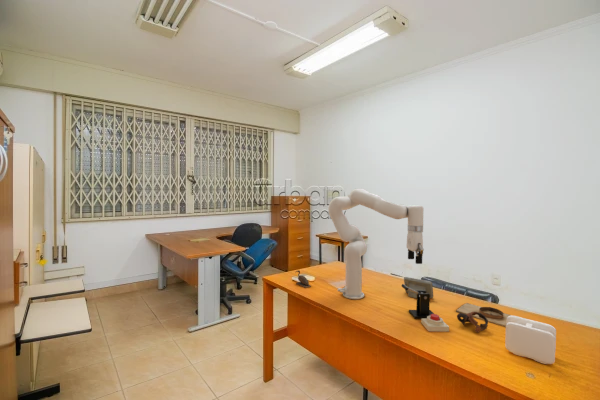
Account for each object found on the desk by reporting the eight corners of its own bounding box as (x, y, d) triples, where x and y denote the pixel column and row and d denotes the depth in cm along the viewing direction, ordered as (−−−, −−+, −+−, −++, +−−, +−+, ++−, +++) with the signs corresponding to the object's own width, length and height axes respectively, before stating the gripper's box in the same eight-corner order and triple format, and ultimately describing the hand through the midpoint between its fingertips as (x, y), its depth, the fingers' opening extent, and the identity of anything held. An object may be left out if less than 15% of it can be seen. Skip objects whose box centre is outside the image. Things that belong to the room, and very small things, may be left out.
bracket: (414, 319, 136) (415, 294, 136) (408, 311, 144) (409, 289, 144) (437, 319, 136) (438, 295, 135) (430, 312, 144) (430, 289, 143)
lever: (404, 290, 137) (406, 285, 137) (400, 286, 142) (402, 282, 142) (426, 300, 137) (428, 296, 137) (422, 297, 142) (424, 292, 142)
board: (523, 319, 135) (523, 313, 135) (515, 330, 125) (516, 322, 125) (466, 304, 154) (466, 298, 154) (455, 311, 144) (455, 305, 144)
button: (432, 321, 126) (432, 317, 126) (429, 317, 129) (429, 313, 129) (440, 321, 126) (440, 317, 126) (437, 317, 129) (437, 313, 129)
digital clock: (435, 298, 162) (435, 280, 162) (427, 302, 156) (427, 283, 156) (408, 291, 174) (409, 274, 174) (400, 294, 169) (401, 276, 168)
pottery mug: (478, 324, 132) (487, 312, 128) (483, 341, 124) (493, 330, 120) (452, 315, 134) (459, 304, 130) (455, 332, 126) (463, 320, 122)
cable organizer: (502, 351, 109) (502, 321, 108) (507, 340, 116) (507, 313, 116) (554, 368, 98) (555, 335, 98) (556, 355, 106) (556, 325, 105)
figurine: (292, 282, 190) (292, 269, 190) (297, 281, 193) (297, 268, 193) (305, 288, 179) (305, 274, 179) (310, 286, 182) (311, 273, 182)
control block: (428, 331, 124) (428, 322, 124) (421, 322, 132) (421, 314, 132) (449, 331, 124) (449, 322, 124) (440, 323, 132) (440, 314, 132)
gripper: (402, 226, 156) (401, 257, 156) (415, 231, 138) (414, 265, 139) (415, 226, 156) (415, 257, 156) (430, 231, 139) (429, 265, 139)
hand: (414, 261), depth 148 cm, fingers open, 9 cm apart
